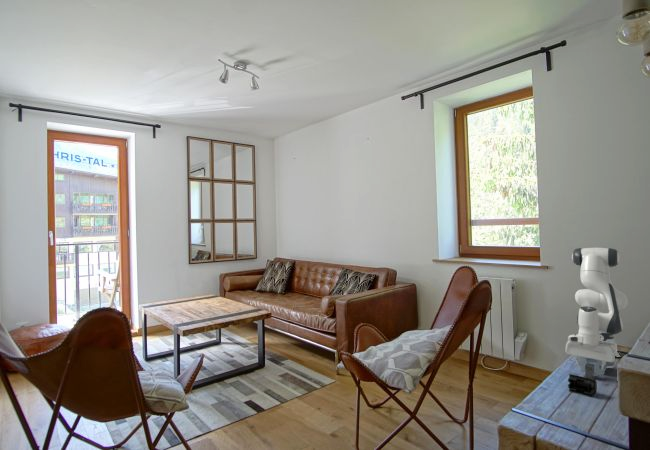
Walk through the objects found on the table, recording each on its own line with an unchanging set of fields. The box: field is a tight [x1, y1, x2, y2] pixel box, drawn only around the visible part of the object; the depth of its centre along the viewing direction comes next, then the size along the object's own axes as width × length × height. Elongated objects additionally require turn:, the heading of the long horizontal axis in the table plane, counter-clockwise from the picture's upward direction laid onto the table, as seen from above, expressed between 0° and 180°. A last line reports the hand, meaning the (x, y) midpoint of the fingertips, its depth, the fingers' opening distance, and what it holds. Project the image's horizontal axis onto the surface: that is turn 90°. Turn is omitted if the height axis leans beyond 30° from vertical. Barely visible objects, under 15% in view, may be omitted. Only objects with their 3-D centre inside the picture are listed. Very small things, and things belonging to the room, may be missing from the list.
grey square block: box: [577, 340, 615, 375], centre depth 195 cm, size 16×16×14 cm
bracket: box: [584, 363, 595, 379], centre depth 184 cm, size 6×3×6 cm, turn 137°
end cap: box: [567, 373, 598, 398], centre depth 165 cm, size 10×7×7 cm
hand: (589, 366), depth 183 cm, fingers open, 8 cm apart
